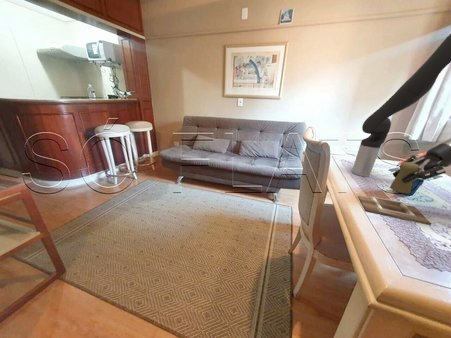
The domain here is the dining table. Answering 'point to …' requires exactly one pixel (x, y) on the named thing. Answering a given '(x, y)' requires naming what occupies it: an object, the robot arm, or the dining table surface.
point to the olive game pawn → (405, 170)
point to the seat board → (392, 209)
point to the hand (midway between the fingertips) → (398, 178)
